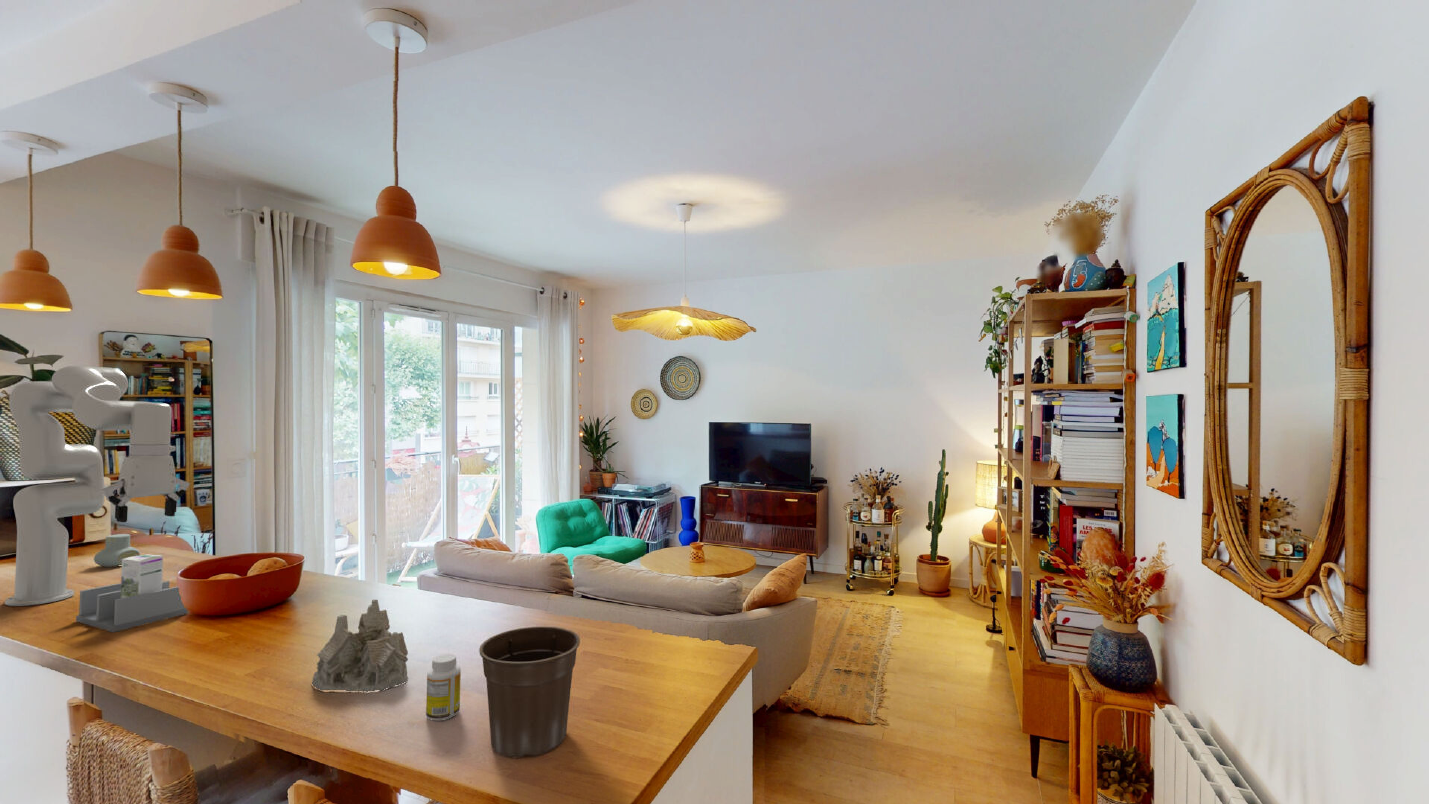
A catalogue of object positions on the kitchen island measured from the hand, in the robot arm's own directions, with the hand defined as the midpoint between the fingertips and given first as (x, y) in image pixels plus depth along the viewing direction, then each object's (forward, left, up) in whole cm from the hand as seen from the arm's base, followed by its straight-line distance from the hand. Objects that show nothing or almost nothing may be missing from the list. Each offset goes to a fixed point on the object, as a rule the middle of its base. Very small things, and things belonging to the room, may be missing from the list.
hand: (146, 518), depth 152 cm
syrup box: (0, 0, -24) cm, 24 cm away
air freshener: (-71, +25, -26) cm, 79 cm away
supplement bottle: (+105, -4, -26) cm, 108 cm away
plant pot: (+124, -4, -26) cm, 127 cm away
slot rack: (-4, 0, -26) cm, 26 cm away
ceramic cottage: (+80, 0, -26) cm, 84 cm away
